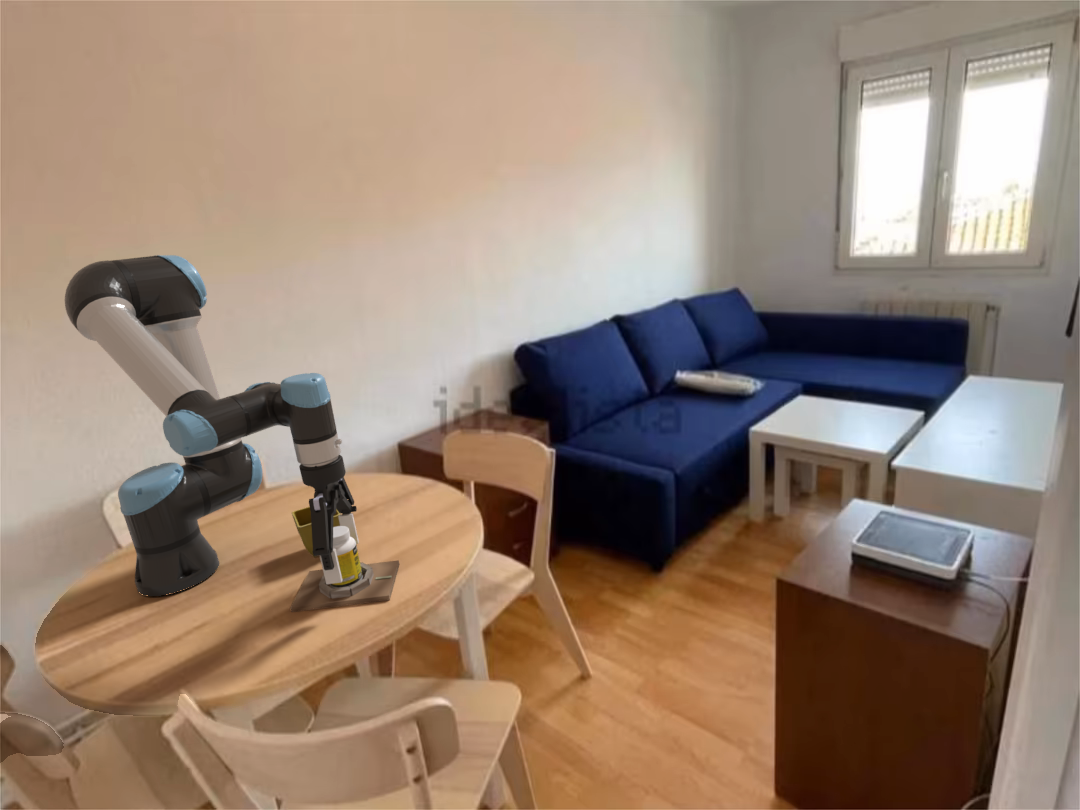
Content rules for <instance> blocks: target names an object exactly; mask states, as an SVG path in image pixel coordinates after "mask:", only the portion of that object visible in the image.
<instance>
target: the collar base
mask: <svg viewBox="0 0 1080 810" xmlns="http://www.w3.org/2000/svg"><path fill="white" fill-rule="evenodd" d="M360 565H361V569H362V575H363V578H362V580H361V581H359V582H357V583H355V584H354V585H352V586H350V587H343V588H335V589H332V588H331V586H330V584H326V581H325V576H324V572H323V568H322V569H315V570H309V571H308V573H307V575H306V577H305V578H304V581H303V582H302V585H301V587H299V590H298V592H297V594H296V596H295V597H294V600H293V601H292V603H291V605H290V611H291V613H296V612H304V611H305V612H306V611H313V610H319V609H327V608H335V607H344V606H351V605H352V606H353V605H361V604H369V603H376V602H378V603H379V602H386V601H390V600H391V597H392V593H393V589H394V586H395V582H396V579H397V575H398V571H399V567H400V561H399V559H398V560H389V561H383V562H382V561H381V562H373V563H372V562H371V563H364V562H363V561H362V562H361V561H360Z"/></svg>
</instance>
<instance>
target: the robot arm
mask: <svg viewBox="0 0 1080 810" xmlns="http://www.w3.org/2000/svg"><path fill="white" fill-rule="evenodd" d="M207 295H208V294H207V289H206V285H205V282H204V281H203V278H202V277H201V274H200V273H199V271H198V270H197V268H196V267H195V266H194V265H193V264H192V263H191V262H189V261H188V260H187V259H186V258H184V257H182V256H179V255H174V254H173V255H172V254H170V255H169V254H167V255H166V254H165V255H164V254H163V255H160V254H157V255H149V256H141V257H133V258H122V259H113V260H112V259H111V260H99V261H94V262H92V263H90V264H88V265H85V266H84V267H82V268H81V269H80V270H78V271H77V272H76V273H75V274H74V275H73V276H72V277H71V279H70V280H69V283H68V284H67V286H66V289H65V294H64V306H65V307H64V308H65V311H66V315H67V317H68V319H69V321H70V323H71V324H72V325H73V326H74V328H75V329H76V330H77V331H78V332H79V333H80V334H81V335H82V336H83V337H84V338H86V339H87V340H90V341H94V342H97V344H98V345H99V346H100V347H101V348H102V349H103V350H104V351H105V352H106V354H108V356H110V358H112V360H113V361H114V362H115V363H116V364H117V365H118V366H119V367H120V368H121V369H122V370H123V371H124V373H125V374H126V375H127V376H128V377H129V378H130V380H132V381H133V383H135V385H136V386H138V388H139V389H140V390H141V391H142V392H143V393H144V394H145V396H147V397H148V399H150V401H151V402H152V403H153V404H154V405H155V406H156V408H158V410H160V411H161V412H162V413H163V415H164V418H163V423H162V429H163V435H164V438H165V440H166V441H167V442H168V443H169V447H170V449H172V450H173V451H174V452H175V453H176V454H178V455H180V456H182V457H183V461H184V463H185V464H184V465H180V464H179V463H177V462H164V463H159V465H152V466H150V467H147V468H145V469H143V470H140V471H139V472H136V473H135V474H132V475H131V476H129V478H127V479H126V480H124V481H123V483H122V484H121V485H120V486H119V489H118V490H117V496H118V500H119V505H120V507H119V509H120V512H121V514H122V515H123V517H124V520H125V524H126V526H127V529H128V532H129V535H130V537H131V541H132V544H133V547H134V549H135V553H136V559H135V561H136V562H135V570H134V571H135V573H134V583H135V584H134V585H135V586H136V589H137V593H139V592H140V593H141V594H143V595H148V596H160V597H162V596H161V595H166V594H169V593H174V592H177V591H180V590H183V589H186V588H188V587H191V586H193V585H196V584H198V583H199V584H201V583H202V582H201V581H203V580H204V581H206V580H207V579H208V577H209V576H210V575H211V576H212V575H213V574H215V573H216V571H217V570H218V569H217V568H219V567H220V559H219V557H218V554H217V551H216V550H215V549H214V548H213V547H212V545H211V544H210V543H209V541H208V540H207V539H206V537H205V536H204V535H203V534H202V532H201V528H200V526H199V522H198V520H199V519H201V518H204V517H205V516H208V515H210V514H212V513H215V512H217V511H219V510H221V509H223V508H224V509H225V508H226V507H229V506H230V505H232V504H235V503H238V502H241V501H243V500H244V499H245V498H247V497H249V496H251V495H253V494H254V493H256V492H257V491H258V489H259V488H260V486H261V484H262V480H263V467H262V462H261V459H260V456H259V455H258V453H257V452H256V449H255V448H254V447H253V446H252V445H251V444H248V443H244V442H243V441H242V438H244V437H248V436H250V435H253V434H256V433H259V432H262V431H264V430H265V431H266V430H267V429H269V428H272V427H273V428H274V427H276V426H281V427H287V428H289V429H290V434H291V436H292V437H291V438H292V442H293V443H292V444H293V448H294V451H295V455H296V461H297V462H298V463H299V464H300V465H299V468H298V469H299V470H300V476H301V479H302V483H303V484H304V485H305V486H308V487H311V488H313V489H314V493H313V498H309V499H308V504H309V506H308V507H310V511H311V526H312V543H313V551H312V552H313V555H314V556H317V557H319V559H320V563H321V567H322V569H323V572H324V576H325V581H326V584H333V583H341V582H342V575H341V571H340V567H339V562H338V558H337V554H336V549H333V516H334V514H336V509H337V510H338V512H339V513H340V514H341V515H339V516H338V518H339V522H340V526H346V527H348V528H349V532H350V537H352V538H354V540H355V541H356V545H358V544H359V543H360V540H359V536H358V531H357V527H356V522H355V518H354V513H355V512H357V510H358V509H357V505H355V500H354V497H353V495H352V493H351V491H350V488H349V485H348V484H347V481H346V479H345V475H346V473H347V472H346V468H345V467H346V466H345V462H344V458H343V456H342V455H341V453H342V450H341V449H342V448H341V446H340V445H342V443H343V440H342V438H339V437H338V432H337V425H336V421H335V415H334V414H335V413H334V410H333V405H332V400H331V399H332V398H331V393H330V392H329V388H328V385H327V382H326V378H325V377H324V375H322V374H320V373H319V372H318V373H317V372H310V373H307V372H305V373H299V374H296V375H295V374H293V375H291V376H288V377H285V378H284V379H282V380H281V382H280V383H277V382H270V381H264V382H256V383H253V384H251V385H249V386H248V387H247V388H246V389H245V390H244V391H242V392H239V393H236V394H233V395H228V396H226V397H222V398H221V397H220V394H219V391H218V389H217V385H216V383H215V380H214V379H215V378H214V376H213V373H212V369H211V367H210V364H209V361H208V358H207V354H206V351H205V348H204V346H203V343H202V339H201V336H200V333H199V331H198V327H197V326H198V324H199V322H200V321H201V319H202V314H201V310H202V308H204V307H205V306H206V303H207V301H208V298H207V297H206V296H207ZM218 566H219V567H218ZM216 569H217V570H216ZM215 570H216V571H215ZM212 573H213V574H212ZM211 576H210V577H211ZM210 577H209V578H210ZM206 578H207V579H206ZM205 579H206V580H205ZM204 581H203V582H204ZM200 582H201V583H200ZM199 584H198V585H199ZM196 586H197V585H196ZM191 588H192V587H191ZM140 593H139V594H140ZM141 594H140V595H141ZM143 595H142V596H143Z"/></svg>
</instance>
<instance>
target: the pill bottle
mask: <svg viewBox="0 0 1080 810" xmlns="http://www.w3.org/2000/svg"><path fill="white" fill-rule="evenodd" d="M357 546H358V544H356V541H355V540H354V538H352V537H350V532H349V528H348V527H346V526H336V527H333V549H336V554H337V558H338V562H339V567H340V571H341V575H342V582H341V583H333V584H330V586H331V588H332V589H335V588H343V587H350V586H352V585H354V584H355V583H357V582H359V581H361V580H362V578H363V575H362V569H361V565H360V562H361V560H360V556H359V551H358V547H357Z"/></svg>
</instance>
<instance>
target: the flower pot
mask: <svg viewBox="0 0 1080 810" xmlns="http://www.w3.org/2000/svg"><path fill="white" fill-rule="evenodd" d="M339 515H342V513H339V512H338V510H337V509H336V514H334V516H333V527H336V526H340V522H339V518H338V516H339ZM291 516H292V518H293V521H294V525H295V527H296V530H297V533H298V534H299V537H300V538H301V541H302V543H303V546H304V548H305V550H306V551H307V552H308V553H309V555H311V556H312V557H313V558H317V557H318V556H314V555H313V552H312V551H313V543H312V526H311V511H310V506H308V507H303V508H300V509H297V510H293V511H291Z"/></svg>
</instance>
